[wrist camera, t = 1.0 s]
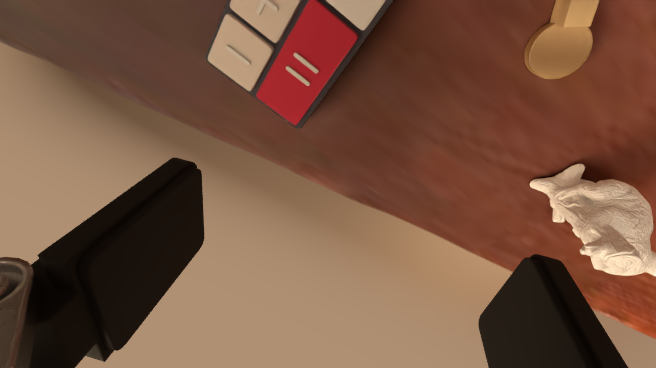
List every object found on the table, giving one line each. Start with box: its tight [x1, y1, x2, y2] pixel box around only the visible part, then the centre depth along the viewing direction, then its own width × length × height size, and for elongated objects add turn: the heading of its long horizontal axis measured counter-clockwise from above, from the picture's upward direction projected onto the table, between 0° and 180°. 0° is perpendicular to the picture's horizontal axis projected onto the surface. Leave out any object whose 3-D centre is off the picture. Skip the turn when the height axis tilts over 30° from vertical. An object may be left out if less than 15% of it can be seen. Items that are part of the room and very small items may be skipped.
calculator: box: [205, 0, 394, 129], centre depth 27 cm, size 11×4×15 cm
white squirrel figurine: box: [530, 164, 656, 277], centre depth 26 cm, size 8×7×12 cm
